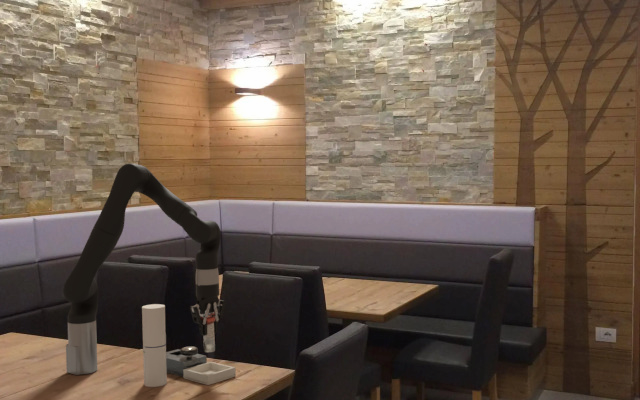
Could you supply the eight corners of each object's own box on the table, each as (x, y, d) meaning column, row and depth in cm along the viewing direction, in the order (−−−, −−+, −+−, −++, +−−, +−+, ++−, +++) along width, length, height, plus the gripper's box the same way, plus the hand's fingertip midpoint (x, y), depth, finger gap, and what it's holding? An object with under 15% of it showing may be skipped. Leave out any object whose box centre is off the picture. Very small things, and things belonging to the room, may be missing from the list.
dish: (208, 385, 234) (208, 375, 233) (183, 378, 241) (183, 369, 241) (235, 376, 243) (235, 367, 243) (211, 370, 250) (210, 361, 250)
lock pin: (208, 353, 239) (207, 319, 238) (199, 351, 241) (198, 317, 241) (218, 350, 242) (217, 316, 241) (209, 348, 245) (208, 315, 244)
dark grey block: (183, 377, 243) (183, 352, 242) (155, 369, 252) (154, 345, 252) (206, 370, 250) (206, 346, 250) (178, 363, 260) (177, 340, 259)
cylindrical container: (155, 388, 231) (153, 309, 230) (139, 384, 235) (137, 307, 234) (171, 382, 237) (169, 305, 236) (155, 379, 241) (153, 303, 240)
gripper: (215, 278, 248) (217, 328, 249) (182, 284, 237) (184, 336, 238) (231, 280, 243) (232, 331, 244) (198, 286, 233) (199, 339, 233)
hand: (208, 333), depth 241 cm, fingers closed on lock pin, 4 cm apart
